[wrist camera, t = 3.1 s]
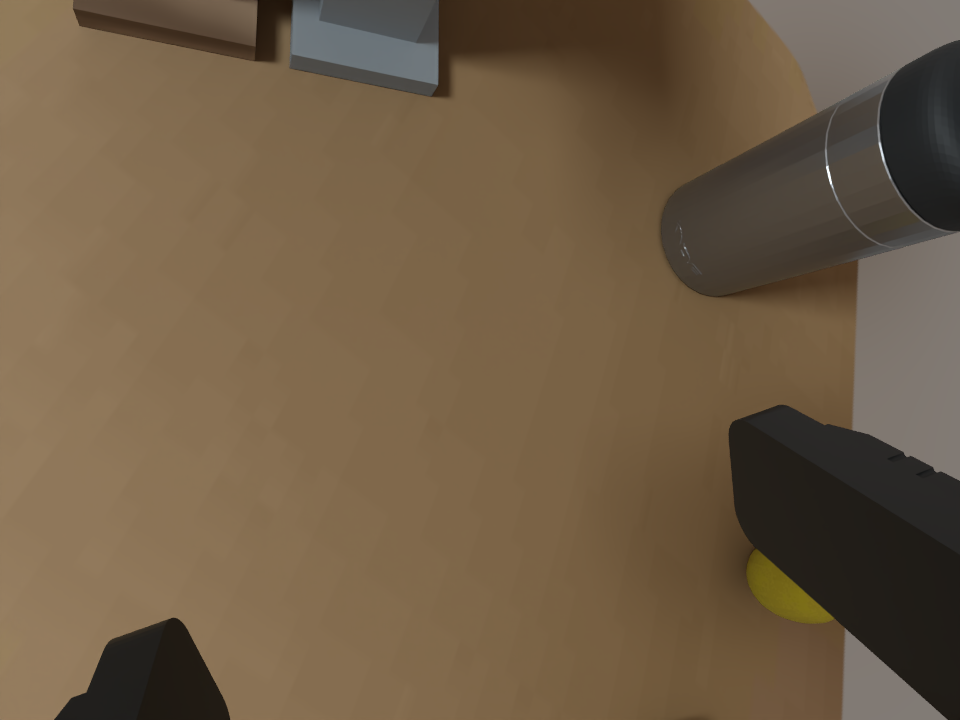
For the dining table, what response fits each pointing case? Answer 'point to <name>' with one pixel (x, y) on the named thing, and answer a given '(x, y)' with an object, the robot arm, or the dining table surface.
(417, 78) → the grey pedestal column
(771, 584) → the lemon
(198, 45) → the tall tower
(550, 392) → the dining table surface
